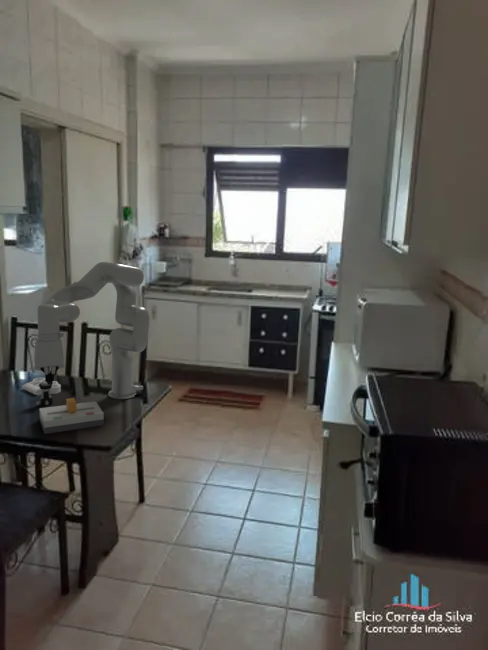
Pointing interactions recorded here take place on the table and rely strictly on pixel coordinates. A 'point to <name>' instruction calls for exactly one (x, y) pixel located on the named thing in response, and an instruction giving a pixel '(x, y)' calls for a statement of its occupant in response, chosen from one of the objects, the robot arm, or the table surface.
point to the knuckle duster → (35, 387)
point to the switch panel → (71, 417)
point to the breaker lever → (71, 405)
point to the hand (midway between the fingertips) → (49, 383)
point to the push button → (45, 393)
